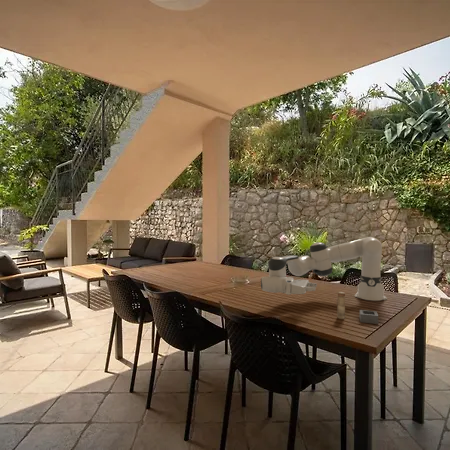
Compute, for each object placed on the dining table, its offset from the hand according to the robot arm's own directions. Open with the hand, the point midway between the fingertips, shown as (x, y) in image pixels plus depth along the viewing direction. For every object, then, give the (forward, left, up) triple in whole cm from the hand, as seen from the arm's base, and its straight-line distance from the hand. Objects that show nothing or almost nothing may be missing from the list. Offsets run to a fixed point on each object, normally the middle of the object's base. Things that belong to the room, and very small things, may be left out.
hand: (316, 287), depth 170 cm
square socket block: (0, +26, -15) cm, 30 cm away
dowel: (0, +13, -15) cm, 20 cm away
